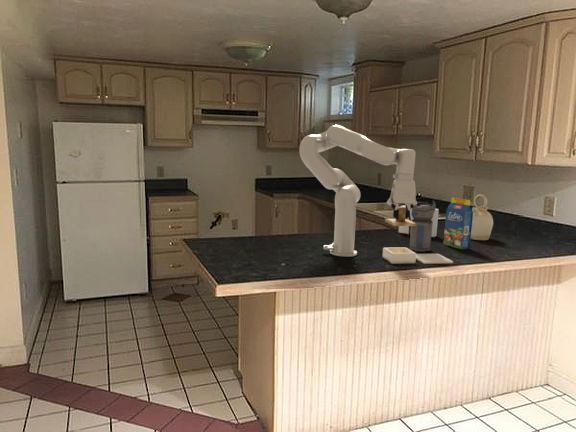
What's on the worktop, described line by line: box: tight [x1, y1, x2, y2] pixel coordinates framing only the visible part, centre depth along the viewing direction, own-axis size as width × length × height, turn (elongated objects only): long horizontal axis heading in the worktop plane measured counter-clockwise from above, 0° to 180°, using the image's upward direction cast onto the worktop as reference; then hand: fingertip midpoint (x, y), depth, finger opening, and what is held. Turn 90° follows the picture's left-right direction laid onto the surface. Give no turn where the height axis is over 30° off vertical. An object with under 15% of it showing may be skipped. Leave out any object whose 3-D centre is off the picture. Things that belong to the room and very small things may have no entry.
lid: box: [384, 206, 417, 227], centre depth 206 cm, size 10×10×7 cm
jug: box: [471, 194, 494, 241], centre depth 261 cm, size 15×16×25 cm
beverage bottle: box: [406, 200, 437, 253], centre depth 228 cm, size 10×13×25 cm
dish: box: [382, 246, 417, 264], centre depth 208 cm, size 11×11×4 cm
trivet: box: [416, 253, 454, 265], centre depth 212 cm, size 14×14×1 cm
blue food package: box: [442, 197, 473, 250], centre depth 238 cm, size 6×12×25 cm, turn 28°
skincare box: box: [398, 204, 440, 238], centre depth 267 cm, size 21×6×16 cm, turn 58°
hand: (400, 218), depth 206 cm, fingers closed on lid, 4 cm apart
